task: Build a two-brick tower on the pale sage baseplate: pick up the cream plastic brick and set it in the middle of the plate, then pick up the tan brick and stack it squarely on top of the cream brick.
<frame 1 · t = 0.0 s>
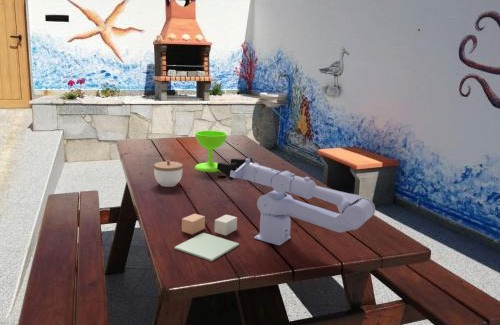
hand: (224, 163, 151), 22 cm above the table, tool horizontal, fingers open, 7 cm apart
lidded bowl: (168, 184, 200), on the table
cream brick: (225, 231, 151), on the table
baseplate: (207, 246, 138), on the table
tan brick: (193, 230, 150), on the table
wineglass: (210, 168, 232), on the table
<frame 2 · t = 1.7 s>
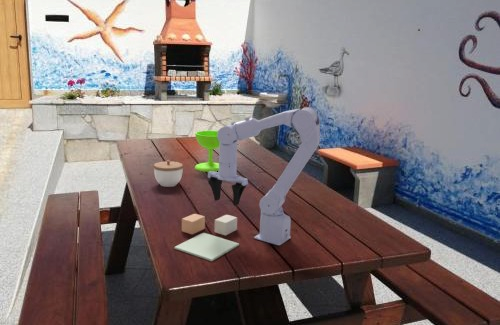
hand: (226, 202, 148), 10 cm above the table, tool pointing down, fingers open, 7 cm apart
nothing on the table moved.
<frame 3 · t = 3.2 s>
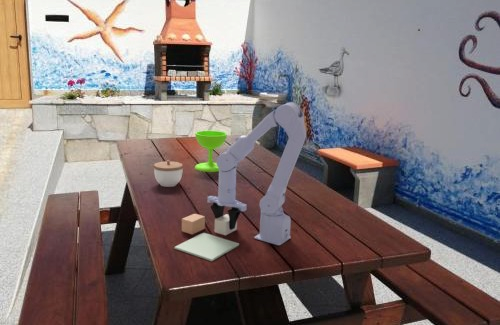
hand: (225, 226, 150), 1 cm above the table, tool pointing down, fingers closed on cream brick, 4 cm apart
cream brick: (225, 230, 151), on the table, touching gripper
everything else where it was.
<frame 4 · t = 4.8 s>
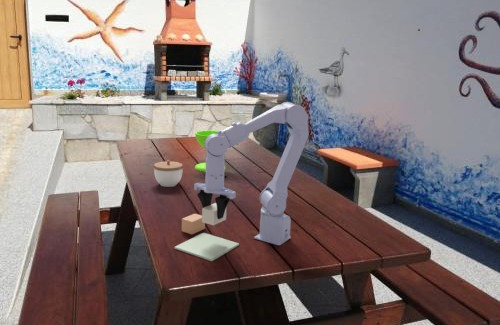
hand: (213, 216, 140), 8 cm above the table, tool pointing down, fingers closed on cream brick, 4 cm apart
cream brick: (214, 220, 140), point 7 cm above the table, touching gripper
everything else where it was.
when the fingers open (3 cm above the table, at t = 6.6 s): cream brick stays where it is, resting on baseplate.
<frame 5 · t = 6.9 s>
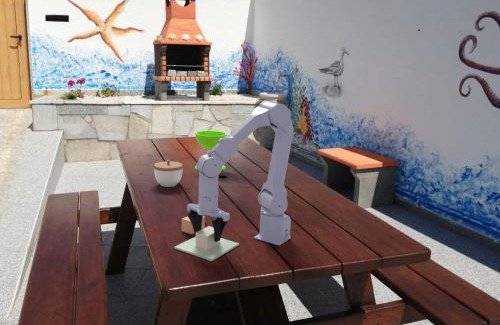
hand: (207, 237, 137), 3 cm above the table, tool pointing down, fingers open, 7 cm apart
cream brick: (207, 244, 138), point 1 cm above the table, touching baseplate
everything else where it was.
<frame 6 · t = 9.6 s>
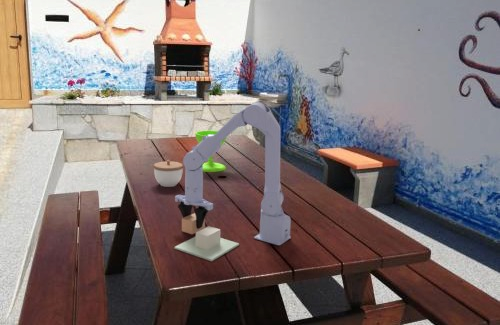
hand: (193, 225, 150), 1 cm above the table, tool pointing down, fingers closed on tan brick, 4 cm apart
tan brick: (193, 229, 150), on the table, touching gripper
everything else where it was.
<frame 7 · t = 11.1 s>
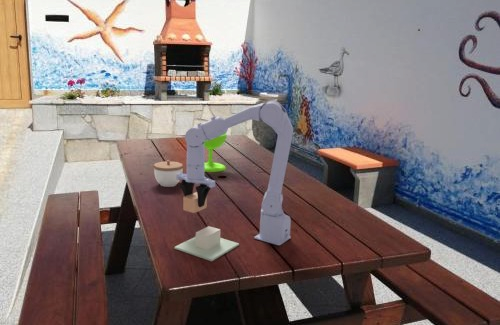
hand: (195, 204, 147), 9 cm above the table, tool pointing down, fingers closed on tan brick, 4 cm apart
tan brick: (195, 208, 147), point 8 cm above the table, touching gripper
everything else where it was.
when the fingers open (7 cm above the table, at t = 12.7 s): tan brick stays where it is, resting on cream brick.
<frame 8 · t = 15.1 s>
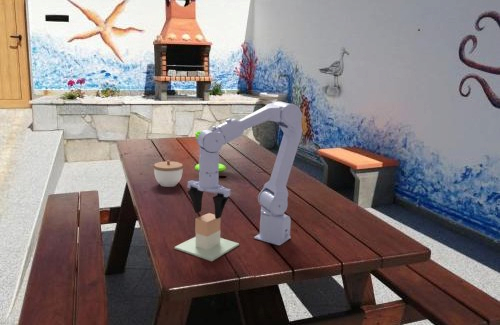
hand: (207, 214, 135), 10 cm above the table, tool pointing down, fingers open, 7 cm apart
cream brick: (207, 244, 138), point 1 cm above the table, touching baseplate, tan brick
tan brick: (207, 231, 136), point 5 cm above the table, touching cream brick
everything else where it was.
at the end: cream brick 0.3 cm off-centre on the baseplate, point 0.6 cm above the baseplate's base; tan brick 0.1 cm off-centre on the baseplate, point 5.1 cm above the baseplate's base; tan brick tilted 0° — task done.
